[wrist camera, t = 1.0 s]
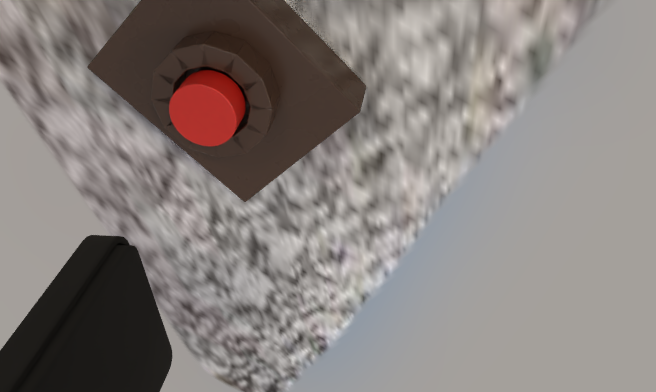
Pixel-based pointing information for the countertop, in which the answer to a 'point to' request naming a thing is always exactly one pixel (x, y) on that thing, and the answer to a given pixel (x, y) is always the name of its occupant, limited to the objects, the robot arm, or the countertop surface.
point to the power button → (207, 108)
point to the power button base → (235, 80)
